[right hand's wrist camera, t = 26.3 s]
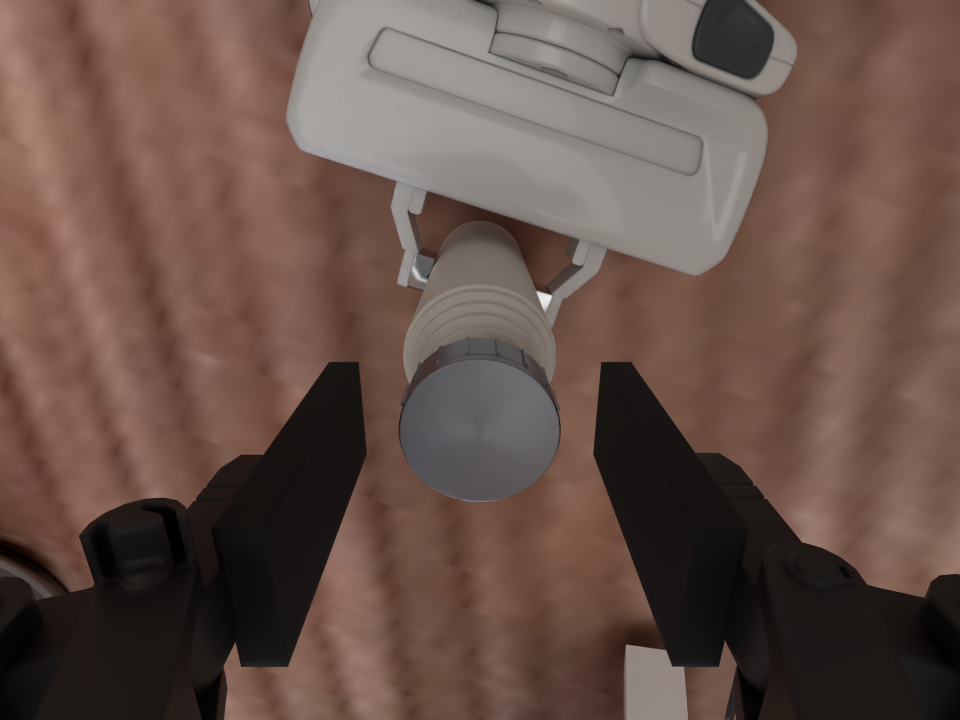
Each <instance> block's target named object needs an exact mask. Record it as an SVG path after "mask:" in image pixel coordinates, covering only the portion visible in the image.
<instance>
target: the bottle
mask: <svg viewBox="0 0 960 720" xmlns="http://www.w3.org/2000/svg"><path fill="white" fill-rule="evenodd" d="M466 337H470V338H491V339H496V338H499V340H501V341H504V342H507V343H510V344H512V345H514V346H516V347H518V348H520V349H522V348H523V349H525V351H526V353H527V354H528V355H530V356H531V357H532V358H533V359H534V360H535V361H536V362H537V363H538V364H539V366H540V367H544V369H545V372H546V376H547V379H548V381H549V384H550V383H551V380H552V378H553V375H554V371H555V366H556V345H555V340H554V336H553V333H552V330H551V328H550V325H549V323H548V320H547V317H546V315H545V312H544V310H543V307H542V305H541V302H540V300H539V297H538V295H537V292H536V290H535V287H534V284H533V282H532V279H531V277H530V274H529V272H528V269H527V267H526V264H525V262H524V259H523V256H522V254H521V251H520V249H519V246H518V244H517V242H516V240H515V239H514V237H513V236H512V235H511V234H510V233H509V232H508V231H507V230H506V229H505V228H503V227H502V226H500V225H498V224H496V223H493V222H490V221H484V220H477V221H470V222H467V223H464V224H462V225H460V226H458V227H456V228H455V229H454V230H452V231H451V232H450V233H449V234H448V236H447V237H446V238H445V240H444V242H443V243H442V246H441V248H440V251H439V253H438V256H437V258H436V261H435V264H434V266H433V269H432V271H431V273H430V276H429V279H428V281H427V284H426V286H425V289H424V291H423V294H422V296H421V299H420V301H419V304H418V306H417V309H416V311H415V314H414V316H413V319H412V321H411V324H410V327H409V329H408V332H407V334H406V338H405V342H404V349H403V363H404V369H405V373H406V376H407V379H408V382H409V384H410V382H411V380H412V378H413V376H414V374H415V372H416V370H417V367H418V364H419V363H420V362H421V363H423V362H424V360H425V359H426V358H427V357H429V356H430V355H431V354H432V353H434V352H435V351H437V350H438V349H439V346H441V345H442V346H445V345H448V344H450V343H452V342H456V341H459V340H463V339H466Z"/></svg>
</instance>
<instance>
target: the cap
mask: <svg viewBox="0 0 960 720" xmlns="http://www.w3.org/2000/svg"><path fill="white" fill-rule="evenodd" d="M401 406H403V408H402V411H401V415H400V421H399V439H400V445H401V448H402V452H403V454H404V456H405V459H406V461H407V462H408V464H409V465H410V467H411V469H412V470H413V471H414V472H415V474H416V475H417V476H418V477H419V478H420V479H421V480H422V481H423V482H424V483H426V484H427V485H429V486H430V487H431V488H433V489H435V490H436V491H438V492H440V493H442V494H444V495H447V496H449V497H452V498H456V499H459V500H465V501H474V502H486V501H494V500H500V499H504V498H507V497H510V496H513V495H515V494H518V493H519V492H521V491H523V490H525V489H527V488H528V487H529V486H531V485H532V484H534V483H535V482H536V481H537V480H538V479H539V478H540V477H541V476H542V475H543V474H544V473H545V472H546V470H547V469H548V468H549V466H550V465H551V463H552V461H553V459H554V457H555V455H556V453H557V449H558V446H559V442H560V434H561V425H560V418H559V414H558V411H560V408H559V405H558V402H557V399H556V395H555V392H554V390H551V387H550V384H549V381H548V379H547V376H546V372H545V369H544V367H540V366H539V364H538V363H537V362H536V361H535V360H534V359H533V358H532V357H531V356H530V355H528V354H527V353H526V351H525V349H523V348H522V349H520V348H518V347H516V346H514V345H512V344H510V343H507V342H504V341H501V340H499V338H496V339H491V338H470V337H466V339H463V340H459V341H456V342H452V343H450V344H448V345H445V346H442V345H441V346H439V349H438V350H437V351H435V352H434V353H432V354H431V355H430V356H429V357H427V358H426V359H425V360H424V362H423V363H421V362H420V363H419V364H418V367H417V370H416V372H415V374H414V376H413V378H412V380H411V382H410V385H407V386H406V390H405V393H404V396H403V399H402V403H401Z"/></svg>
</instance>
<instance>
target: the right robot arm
mask: <svg viewBox="0 0 960 720" xmlns="http://www.w3.org/2000/svg"><path fill="white" fill-rule="evenodd" d="M366 455H367V452H366V441H365V429H364V418H363V406H362V395H361V384H360V372H359V362H329V363H328V364H327V366H326V367H325V369H324V370H323V371H322V373H321V374H320V376H319V377H318V379H317V380H316V381H315V383H314V384H313V386H312V387H311V388H310V390H309V391H308V393H307V394H306V396H305V397H304V398H303V400H302V401H301V403H300V404H299V405H298V407H297V408H296V410H295V411H294V413H293V414H292V415H291V417H290V418H289V420H288V421H287V422H286V424H285V425H284V427H283V428H282V430H281V431H280V432H279V434H278V435H277V437H276V438H275V439H274V441H273V442H272V444H271V445H270V446H269V448H268V449H267V451H266V452H265V454H264V455H240V456H239V457H237V458H236V459H234V460H233V461H231V462H229V463H228V464H226V465H225V466H223V467H222V468H220V469H219V471H218V472H217V473H216V474H215V476H214V477H213V478H212V479H211V480H210V482H209V483H208V484H207V488H204V489H203V490H202V492H201V493H200V494H199V495H198V496H197V498H196V501H193V503H192V504H191V505H190V506H189V508H188V509H187V510H186V507H185V506H184V505H182V504H181V503H180V502H179V501H177V500H173V499H168V498H151V499H143V500H139V501H135V502H131V503H127V504H124V505H122V506H119V507H117V508H115V509H113V510H110V511H108V512H106V513H104V514H103V515H101V516H100V517H98V518H97V519H95V520H94V521H92V522H91V523H89V525H88V526H87V527H86V528H85V529H84V530H83V532H82V533H81V534H80V535H79V537H80V540H81V543H82V546H83V549H84V552H85V556H86V559H87V562H88V565H89V568H90V571H91V574H92V577H93V580H94V586H93V587H92V588H88V589H85V590H80V591H76V592H71V593H66V592H65V591H64V590H63V588H62V587H61V586H60V585H59V584H58V583H57V582H56V581H55V580H54V579H53V578H52V577H50V576H49V575H48V574H47V573H46V572H44V571H43V570H42V569H40V568H39V567H37V566H36V565H34V564H33V563H31V562H30V561H28V560H26V559H24V558H22V557H21V556H19V555H17V554H14V553H12V552H10V551H8V550H5V549H3V548H0V720H224V713H225V705H226V696H227V682H226V676H225V671H224V667H223V666H224V664H225V662H226V660H227V658H228V656H229V654H230V652H231V650H232V648H233V646H234V644H235V642H236V645H237V650H238V654H239V659H240V663H241V667H288V665H289V662H290V660H291V657H292V654H293V652H294V649H295V646H296V643H297V641H298V638H299V635H300V633H301V630H302V627H303V625H304V622H305V619H306V616H307V614H308V611H309V608H310V606H311V603H312V600H313V598H314V595H315V592H316V590H317V587H318V584H319V581H320V579H321V576H322V573H323V571H324V568H325V565H326V563H327V560H328V557H329V554H330V552H331V549H332V546H333V544H334V541H335V538H336V536H337V533H338V530H339V528H340V525H341V522H342V519H343V517H344V514H345V511H346V509H347V506H348V503H349V501H350V498H351V495H352V492H353V490H354V487H355V484H356V482H357V479H358V476H359V474H360V471H361V468H362V465H363V463H364V460H365V457H366ZM593 455H594V457H595V460H596V463H597V465H598V468H599V471H600V474H601V476H602V479H603V482H604V484H605V487H606V490H607V492H608V495H609V498H610V501H611V503H612V506H613V509H614V511H615V514H616V517H617V519H618V522H619V525H620V528H621V530H622V533H623V536H624V538H625V541H626V544H627V546H628V549H629V552H630V554H631V557H632V560H633V563H634V565H635V568H636V571H637V573H638V576H639V579H640V581H641V584H642V587H643V590H644V592H645V595H646V598H647V600H648V603H649V606H650V608H651V611H652V614H653V616H654V619H655V622H656V625H657V627H658V630H659V633H660V635H661V638H662V641H663V643H664V646H665V649H666V652H667V654H668V657H669V660H670V662H671V665H672V667H719V663H720V659H721V654H722V650H723V645H724V641H726V643H727V645H728V647H729V649H730V651H731V653H732V655H733V657H734V659H735V661H736V663H737V667H736V671H735V676H734V680H733V684H732V688H731V692H730V697H729V701H728V705H727V709H726V716H725V720H733V719H734V715H735V712H736V720H960V575H959V574H950V575H940V576H938V577H937V578H936V579H934V580H933V581H932V582H931V583H930V586H929V588H928V591H927V593H926V596H925V598H923V597H918V596H913V595H909V594H904V593H900V592H895V591H891V590H886V589H882V588H877V587H874V586H870V585H867V584H866V582H865V581H864V580H863V578H862V577H861V575H860V574H859V573H858V571H857V570H856V569H855V568H854V567H852V566H851V565H850V564H849V563H847V562H846V561H845V560H843V559H842V558H841V557H839V556H837V555H835V554H833V553H831V552H829V551H827V550H825V549H823V548H820V547H817V546H813V545H810V544H806V543H802V542H801V540H800V539H799V538H798V537H797V536H796V534H795V533H794V532H793V531H792V529H791V528H790V527H789V526H788V525H787V523H786V522H785V521H784V520H783V518H782V517H781V516H780V515H779V514H778V512H777V511H776V510H775V509H774V507H773V506H772V505H771V504H770V503H769V501H768V500H767V499H764V495H763V494H762V493H761V492H760V490H759V489H758V488H757V487H756V486H753V482H752V481H751V479H750V478H749V477H748V476H747V474H746V473H745V472H744V471H743V470H742V468H741V467H740V466H738V465H737V464H735V463H734V462H732V461H731V460H729V459H727V458H726V457H724V456H723V455H721V454H720V453H695V452H694V451H693V449H692V448H691V446H690V445H689V444H688V442H687V441H686V439H685V438H684V437H683V435H682V434H681V432H680V431H679V430H678V428H677V427H676V425H675V424H674V422H673V421H672V420H671V418H670V417H669V415H668V414H667V413H666V411H665V410H664V408H663V407H662V405H661V404H660V403H659V401H658V400H657V398H656V397H655V396H654V394H653V393H652V391H651V390H650V388H649V387H648V386H647V384H646V383H645V381H644V380H643V379H642V377H641V376H640V374H639V373H638V372H637V370H636V369H635V367H634V366H633V364H632V363H631V362H601V372H600V384H599V395H598V406H597V418H596V429H595V441H594V452H593Z"/></svg>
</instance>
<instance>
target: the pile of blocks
mask: <svg viewBox="0 0 960 720" xmlns="http://www.w3.org/2000/svg"><path fill="white" fill-rule="evenodd" d="M624 720H688V713H687V700H686V687H685V674H684V667H672V665H671V662H670V660H669V657H668V654H667V652H666V650H660V649H653V648H646V647H639V646H632V645H626V651H625V662H624Z"/></svg>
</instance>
